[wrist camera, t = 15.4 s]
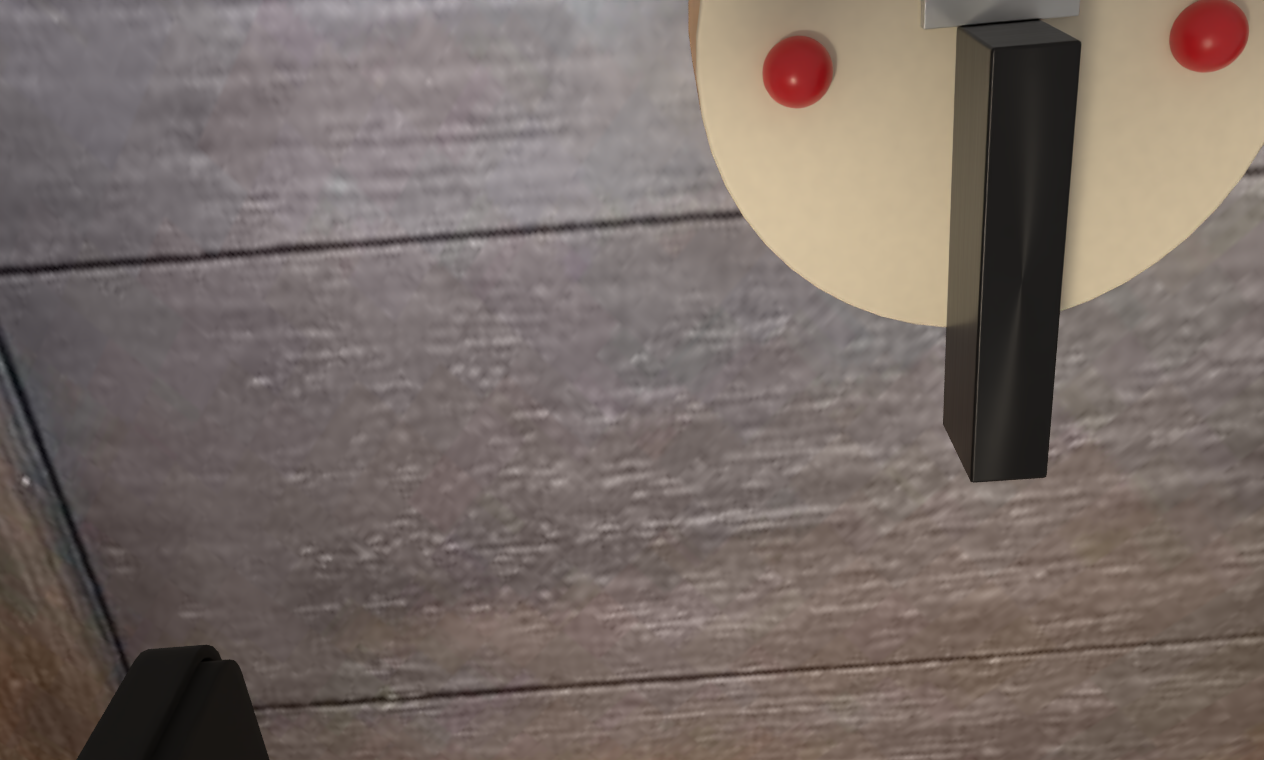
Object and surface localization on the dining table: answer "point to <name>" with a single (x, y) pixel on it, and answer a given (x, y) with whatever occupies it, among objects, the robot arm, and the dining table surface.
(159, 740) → the robot arm
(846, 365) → the dining table surface
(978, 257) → the knife
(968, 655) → the dining table surface
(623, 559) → the dining table surface
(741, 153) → the cake
